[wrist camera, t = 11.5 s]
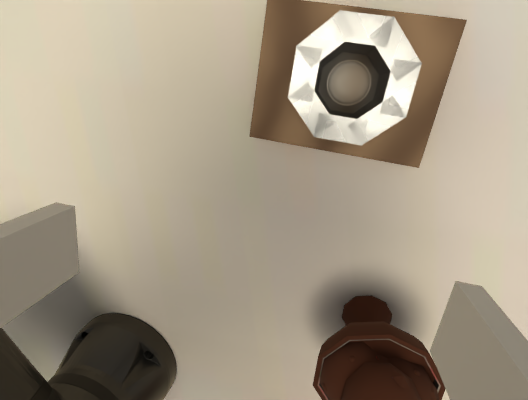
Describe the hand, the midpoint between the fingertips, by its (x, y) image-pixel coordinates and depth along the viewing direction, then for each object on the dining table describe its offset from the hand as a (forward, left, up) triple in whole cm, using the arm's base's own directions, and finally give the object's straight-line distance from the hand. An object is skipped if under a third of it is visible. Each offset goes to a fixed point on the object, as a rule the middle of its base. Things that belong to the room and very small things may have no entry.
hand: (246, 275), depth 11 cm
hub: (+3, +7, -20) cm, 22 cm away
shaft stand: (+2, +7, -23) cm, 24 cm away
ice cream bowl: (+10, -17, -23) cm, 31 cm away
